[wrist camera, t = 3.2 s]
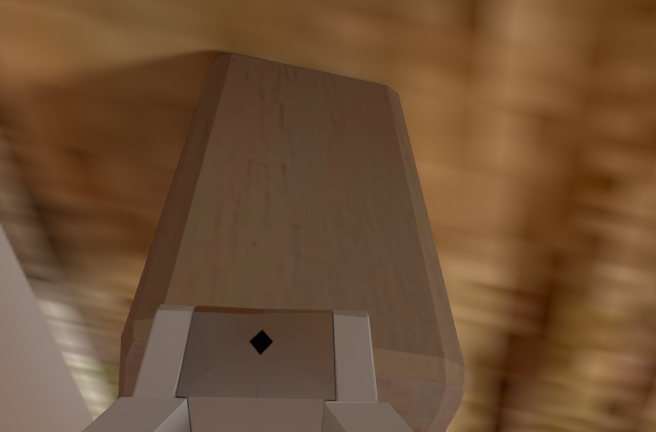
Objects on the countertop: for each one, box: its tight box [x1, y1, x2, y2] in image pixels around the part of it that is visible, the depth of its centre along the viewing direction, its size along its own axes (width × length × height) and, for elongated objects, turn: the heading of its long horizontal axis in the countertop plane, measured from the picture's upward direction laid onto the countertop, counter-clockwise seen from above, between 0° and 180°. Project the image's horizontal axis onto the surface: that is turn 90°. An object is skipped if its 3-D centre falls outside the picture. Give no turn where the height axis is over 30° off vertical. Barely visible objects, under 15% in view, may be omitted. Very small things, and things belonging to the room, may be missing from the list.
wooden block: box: [118, 54, 466, 432], centre depth 27 cm, size 10×10×20 cm
